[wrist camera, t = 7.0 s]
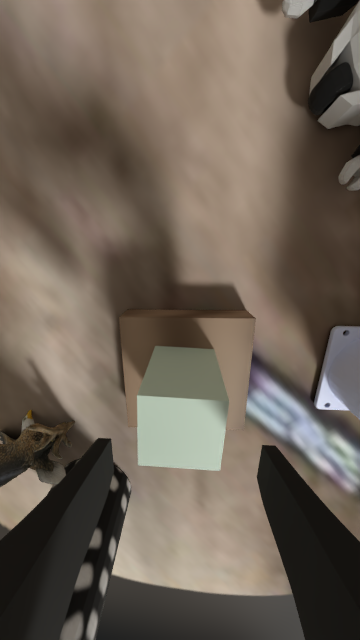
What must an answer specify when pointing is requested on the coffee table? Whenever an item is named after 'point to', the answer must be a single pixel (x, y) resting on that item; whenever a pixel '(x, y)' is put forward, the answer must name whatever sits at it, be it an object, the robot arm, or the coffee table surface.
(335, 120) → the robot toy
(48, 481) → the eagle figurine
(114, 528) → the spotted tube
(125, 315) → the walnut plinth
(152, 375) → the sage block
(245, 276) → the coffee table surface
